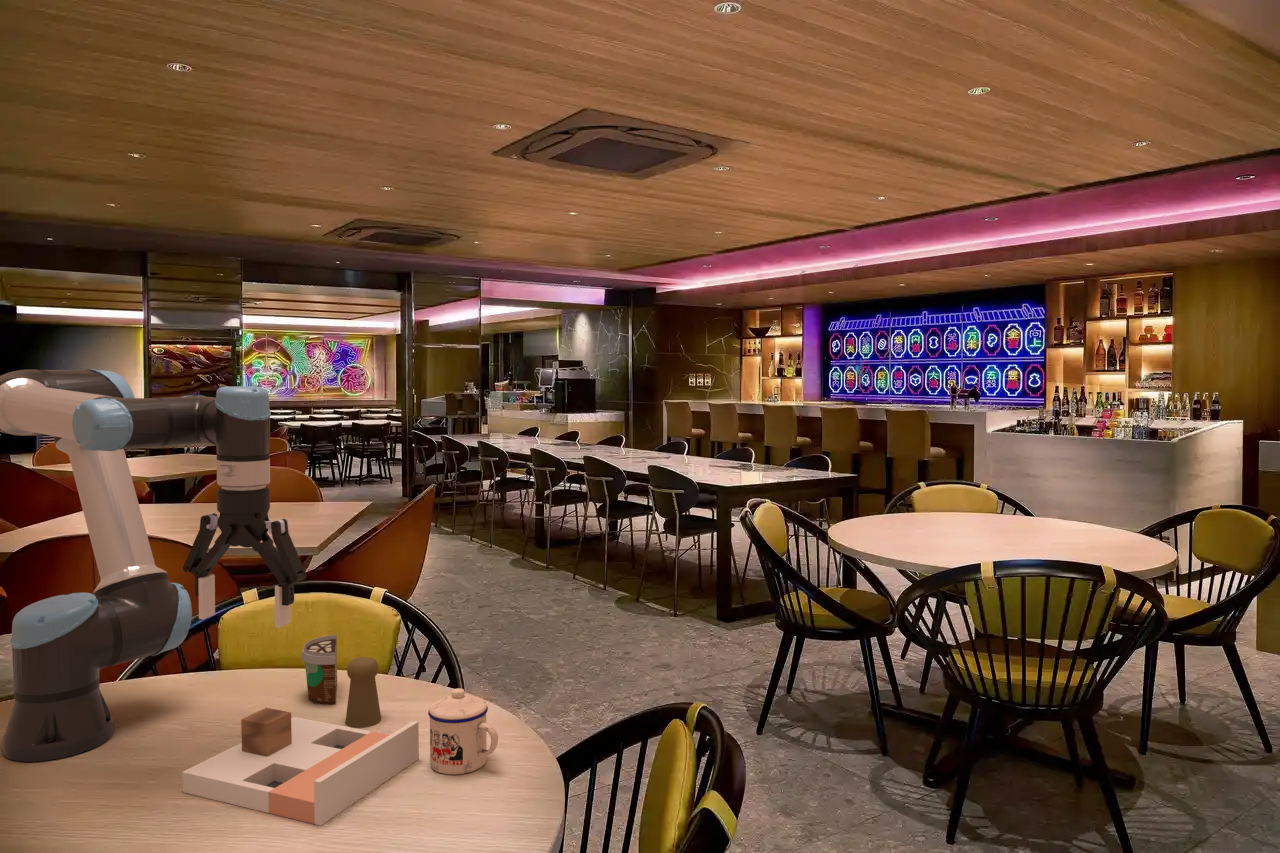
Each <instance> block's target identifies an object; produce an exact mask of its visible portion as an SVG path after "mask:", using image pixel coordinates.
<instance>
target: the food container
mask: <svg viewBox="0 0 1280 853" xmlns="http://www.w3.org/2000/svg"><path fill="white" fill-rule="evenodd" d="M337 641H338V640H337V634H330V635H324V636H319V637H316V638H314V639H313V638H312V639H310V640H309V641H307V642H305V644H304V645H303V648H302V650H301V654H300V659H301V660H302V661H303V662H304V664H305V665H304V668H305V674H306V675H305V676H306V677H305V678H306V687H307V695H308V696H307V698H308V701H309V702H310V703H312V704H315V705H321V706H322V705H323V706H331V705H332V706H334V705H336V704H337V692H338V648H337V647H338V642H337Z"/></svg>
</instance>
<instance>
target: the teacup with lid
mask: <svg viewBox="0 0 1280 853" xmlns="http://www.w3.org/2000/svg"><path fill="white" fill-rule="evenodd" d="M488 710H489V706H488V704H487V702H486V701H485V700H484V699H482V698H481V697H477V696H475V695H474V696H473V695H470V694H468V693H465V690H464V688H459V687H458V688H454V689H452V690H451V694H450V695H447V696H445V697H442V698H440V699H437V700H436V701H434V702H433V703H432V704H430V707H429V708H428V712H427V713H428V716H429V751H430V752H429V758H430V759H429V761H430V762H429V763H430V766H431V769H433V770H434V772H437V773H440V774H443V775H463V774H469V773H472V772H475V771H477V770H479V769H481V768H482V767H483V766H484V765H485V764H486V761H487V758H488V757H487V756H490V755H492V754H493V753H494V752H495V751H496V750H497V748H498V747H497V746H498V744H499V736H498V732H497V729H495V727H494V726H493V725H492V724H489V723H487V712H488ZM487 734H489V736H490V745H489V748H488V749H487Z"/></svg>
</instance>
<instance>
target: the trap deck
mask: <svg viewBox="0 0 1280 853" xmlns="http://www.w3.org/2000/svg"><path fill="white" fill-rule="evenodd" d="M419 727H420V726H419V721H416V720H412V721H410V722H409V723H407V724H406V725H403V727H400V728H399V729H398V730H396V731H394V732H393V733H391V734H386V733H381V732H377V731H371V730H365V729H361V728H353V727H349V726H345V725H339V724H335V723H334V724H333V723H328V722H323V721H318V720H314V719H307V718H301V717H297V716H293V717H292V716H291V732H292V744H290V745H288V746H287V747H285V748H283V749H281V750H279V751H277V752H275V753H273V754H272V755H270V756H268V757H266V756H261V755H257V754H252V753H247V752H243V751H242V742H239V743H238V744H236V745H234V746H232V747H230V748H228V749H225V750H224V751H222V752H219V753H218V754H216V755H213V756H212V757H210V758H208V759H206V760H204V761H202V762H200V763H198V764H195V765H193V766H192V767H190V768H187V769H186V770H183V771H181V772H182V774H181V775H182V792H183V793H185V794H189V795H194V796H196V797H197V796H198V797H201V798H206V799H209V800H214V801H218V802H221V803H226V804H229V805H234V806H239V807H244V808H246V809H250V810H254V811H258V812H263V813H268V814H272V815H275V816H279V817H283V818H288V819H291V820H296V821H300V822H303V823H308V824H312V825H316V826H320V827H321V826H323V825H324V824H325V823H327V822H328V821H330V820H332V819H333V818H334V817H335V816H337V815H339V814H340V813H342V812H343V811H345V810H346V809H348V808H349V807H350V806H352V805H353V804H355V803H356V802H358V801H359V800H361V799H362V798H364V797H365V796H366V795H368V794H370V793H371V792H372V791H374V790H375V789H377V788H378V787H380V786H381V785H383V784H384V783H386V782H387V781H389V780H390V779H392V778H393V777H395V776H396V775H397V774H399V773H400V772H402V771H403V770H405V769H407V768H408V767H409V766H411V765H412V764H414V763H415V762H417V761H418V760H419V759H420V751H419V750H420V749H419V748H420V742H419V741H420V740H419V738H420V737H419V733H420V732H419Z"/></svg>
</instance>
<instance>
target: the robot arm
mask: <svg viewBox="0 0 1280 853" xmlns="http://www.w3.org/2000/svg"><path fill="white" fill-rule="evenodd" d="M269 394H270V393H269V391H268V390H267V389H266V388H265V387H262V386H261V387H260V386H240V385H239V386H238V385H237V386H222V387H219V388H217V390H216V394H215V397H213V396H212V397H211V396H205V395H203V394H202V395H201V394H198V395H184V396H179V397H178V396H175V397H173V396H172V397H171V396H170V397H169V396H168V397H150V398H149V397H148V398H147V397H141V398H139V397H135V394H134V392H133V389H132V388H131V386H130V384H129V383H128V381H127V380H126V379H125V378H124V377H123V376H121V375H120V374H118V373H117V372H114V371H111V370H101V369H99V370H98V369H96V368H95V369H94V368H85V369H19V370H15V371H10V372H7V373H4V374H1V375H0V432H1V433H3V434H7V435H13V436H52V437H53V440H54V443H55V447H56V449H57V450H59V451H61V452H63V453H64V454H67V455H68V458H69V461H70V466H71V469H72V470H71V471H72V473H73V478H74V481H75V485H76V490H77V492H78V495H79V500H80V504H81V508H82V513H83V517H84V519H85V524H86V528H87V532H88V535H89V539H90V543H91V548H92V551H93V555H94V559H95V562H96V566H97V570H98V574H99V577H100V581H99V583H98V584H97V586H96V587H95V589H94V590H93V593H90V592H72V593H68V594H58V595H54V596H50V597H47V598H44V599H41V600H38V601H35V602H33V603H31V604H29V605H27V606H24V607H23V608H22V609H21V610H19V611H18V612H17V613H16V614H15V616H14V617H13V618H12V619H13V620H12V624H11V638H10V645H11V653H12V654H11V655H12V657H11V658H12V673H13V674H12V675H13V676H12V677H13V698H14V699H13V700H14V702H13V707H12V710H11V713H10V716H9V719H8V723H7V726H6V727H5V728H6V729H5V733H4V734H3V736H2V754H3V756H4V757H5V758H6V759H8V760H12V761H17V762H41V761H42V762H43V761H51V760H57V759H62V758H66V757H70V756H76V755H78V754H80V753H84V752H87V751H89V750H92V749H94V748H96V747H99V746H101V745H102V744H104V743H106V742H107V741H108V740H109V739H111V737H112V736H113V734H114V719H113V718H114V717H113V716H112V714H111V711H110V709H109V707H108V705H107V701H106V700H105V698H104V696H103V693H102V691H101V688H100V687H101V686H100V671H101V670H102V669H105V668H109V667H113V666H114V667H115V666H117V665H120V664H125V663H127V662H131V661H134V660H139V659H143V658H146V657H149V656H151V657H155V656H158V655H159V654H162V653H165V652H166V651H171V650H174V649H175V648H178V647H179V646H180V645H181V644H182V643H183V642H184V640H185V639H186V637H187V636H188V634H189V630H190V628H191V624H192V617H193V612H192V611H193V609H192V608H193V607H192V601H191V598H190V595H189V593H188V591H187V589H185V587H184V585H183V584H181V583H178V582H171V581H170V578H169V575H168V572H167V570H164V569H162V568H160V567H158V566H157V565H156V563H155V562H156V561H155V558H154V555H153V551H152V548H151V544H150V541H149V537H148V534H147V529H146V525H145V522H144V519H143V515H142V511H141V507H140V504H139V503H140V502H139V500H138V496H137V493H136V492H137V491H136V489H135V485H134V482H133V478H132V474H131V470H130V467H129V464H128V459H127V457H126V456H127V455H126V452H125V450H132V449H141V448H142V449H144V448H145V449H146V448H155V447H156V448H158V447H160V448H161V447H177V446H191V445H212V446H213V445H214V446H216V484H217V485H218V486H220V487H219V488H218V490H217V491H216V509H217V510H216V511H217V512H218V513H219V516H218V514H217V513H216V512H215V513H210V514H204V515H201V516H200V521H199V522H200V523H199V530H198V531H197V532H198V533H197V535H196V537H195V539H194V541H193V543H192V546H191V548H190V550H189V552H188V555H187V557H186V559H185V562H184V563H183V566H182V570H183V572H185V573H191V574H192V575H193V577H194V589H195V590H194V593H195V596H196V597H198V619H199V620H205V619H208V618H210V617H213V616H215V615H216V586H215V585H216V582H215V581H216V580H215V579H216V576H215V574H214V573H213V569H214V568H215V566H216V565H217V564H218V562H219V561H220V560H221V559H222V557H223V556H224V555H225V553H226V552H227V551H228V550H229V549H230V547H236V548H237V547H239V546H240V547H243V548H247V549H248V548H252V550H253V551H254V552H256V553H258V554H259V556H260V558H261V559H262V560H263V561H264V563H265V564H266V566H267V567H268V569H269V571H271V573H272V574H273V576H274V577H275V579H276V580H277V581H278V584H276V585H274V628H276V629H280V628H282V627H284V626H287V625H288V624H290V623H291V605H292V604H294V603H295V584H296V583H297V582H300V581H302V580H304V579H306V578H307V572H306V570H305V568H304V566H303V562H302V560H301V558H300V556H299V554H298V551H297V549H296V547H295V545H294V543H293V540H292V538H291V535H290V533H289V525H288V524H289V523H288V520H287V519H286V518H282V519H277V520H270V519H269V515H268V514H269V512H270V510H271V489H270V488H269V486H267V485H269V484H270V483H271V458H270V453H271V452H270V451H271V448H270V447H271V416H272V415H271V414H272V412H271V410H270V409H271V408H270V395H269ZM218 528H219V531H220V534H219V535H218V537H217V538H216V539H215V541H214V544H213V545H212V547H210V545H211V544H212V541H213V539H214V536H215V534H216V531H217V529H218ZM270 534H271V536H270ZM209 547H210V548H209ZM212 573H213V574H212Z"/></svg>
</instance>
